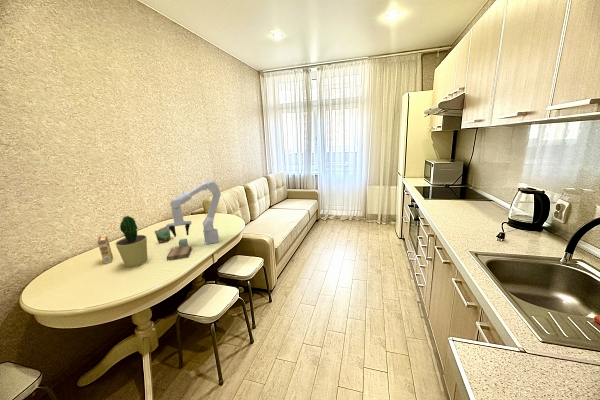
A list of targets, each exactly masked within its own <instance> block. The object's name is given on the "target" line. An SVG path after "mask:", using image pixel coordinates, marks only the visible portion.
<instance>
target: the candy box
mask: <svg viewBox="0 0 600 400" xmlns="http://www.w3.org/2000/svg"><path fill="white" fill-rule="evenodd" d="M97 245H98V248H99V251H100V254H101V258H102V262H103V264H104V265H105V264H109V263H112V262H113V258H114V256H113V252H112V248H111V246H110V241H109V237H108V235H107V234H106V235H100V236H98V238H97Z"/></svg>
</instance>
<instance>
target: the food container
mask: <svg viewBox="0 0 600 400" xmlns="http://www.w3.org/2000/svg"><path fill="white" fill-rule="evenodd" d="M154 234H155V237H156V240H157V243H158V244H162V243H166V242H169V241H171V230H169V227H167V224H166V226H164V227H161V228H159V229H158V230H157V229H156V230H154Z"/></svg>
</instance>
